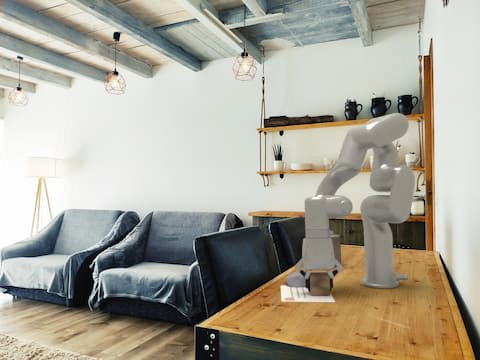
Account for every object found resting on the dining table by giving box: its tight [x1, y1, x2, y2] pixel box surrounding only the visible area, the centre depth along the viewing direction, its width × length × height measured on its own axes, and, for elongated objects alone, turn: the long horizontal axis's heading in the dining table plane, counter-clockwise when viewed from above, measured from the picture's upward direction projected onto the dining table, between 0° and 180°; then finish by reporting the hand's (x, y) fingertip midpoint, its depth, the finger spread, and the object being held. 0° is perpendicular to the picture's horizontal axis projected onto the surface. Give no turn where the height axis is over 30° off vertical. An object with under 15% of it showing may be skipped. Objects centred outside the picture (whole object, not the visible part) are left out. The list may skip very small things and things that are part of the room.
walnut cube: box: [309, 271, 331, 295], centre depth 121 cm, size 6×6×6 cm
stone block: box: [285, 270, 306, 287], centre depth 135 cm, size 12×5×10 cm
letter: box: [280, 284, 336, 303], centre depth 122 cm, size 16×20×1 cm
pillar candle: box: [329, 233, 342, 268], centre depth 169 cm, size 10×10×15 cm
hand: (319, 289), depth 120 cm, fingers closed on walnut cube, 6 cm apart
